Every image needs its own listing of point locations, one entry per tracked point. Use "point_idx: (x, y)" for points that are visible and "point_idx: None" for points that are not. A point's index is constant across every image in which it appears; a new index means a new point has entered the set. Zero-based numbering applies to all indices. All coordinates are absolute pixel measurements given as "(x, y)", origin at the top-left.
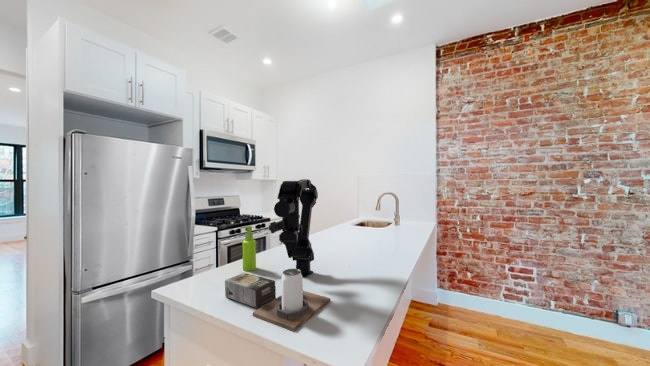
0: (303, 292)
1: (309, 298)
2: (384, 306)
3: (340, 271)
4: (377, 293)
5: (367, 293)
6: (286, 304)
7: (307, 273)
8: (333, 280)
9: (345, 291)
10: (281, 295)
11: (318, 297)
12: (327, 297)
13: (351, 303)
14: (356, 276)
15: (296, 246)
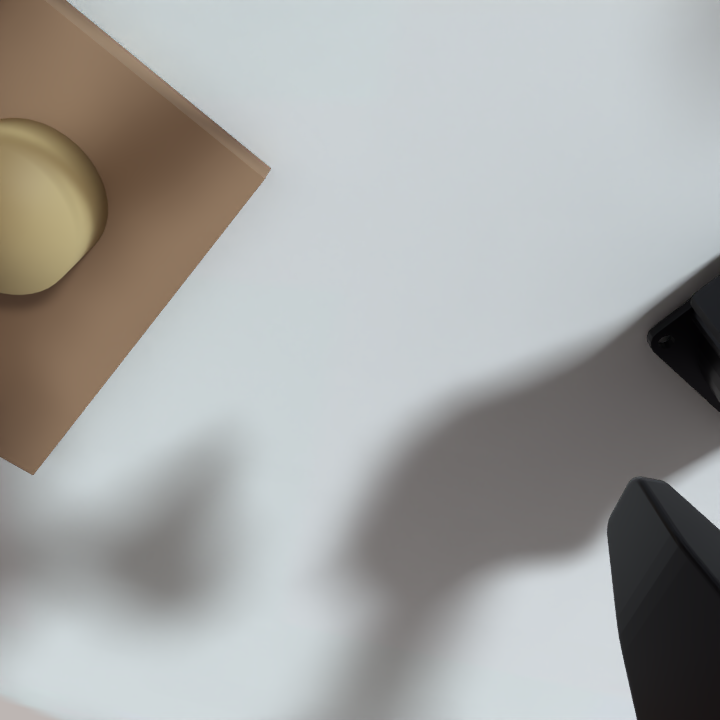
0: (142, 282)
1: (6, 322)
2: (6, 681)
3: None
4: (175, 703)
5: (177, 666)
6: None
7: (704, 378)
8: (456, 551)
9: (217, 575)
10: (51, 11)
11: (37, 396)
12: (43, 459)
13: (24, 562)
14: (487, 691)
15: (627, 661)
